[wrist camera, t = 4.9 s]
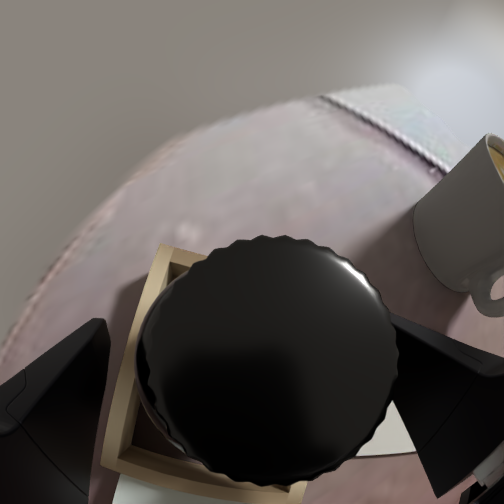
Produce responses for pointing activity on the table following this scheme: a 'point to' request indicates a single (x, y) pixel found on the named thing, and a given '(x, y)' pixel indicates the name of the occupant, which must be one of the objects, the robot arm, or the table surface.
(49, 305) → the table surface
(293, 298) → the supplement bottle
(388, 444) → the felt mat
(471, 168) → the coffee mug
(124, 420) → the frame
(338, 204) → the table surface
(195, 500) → the frame lid
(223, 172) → the table surface
